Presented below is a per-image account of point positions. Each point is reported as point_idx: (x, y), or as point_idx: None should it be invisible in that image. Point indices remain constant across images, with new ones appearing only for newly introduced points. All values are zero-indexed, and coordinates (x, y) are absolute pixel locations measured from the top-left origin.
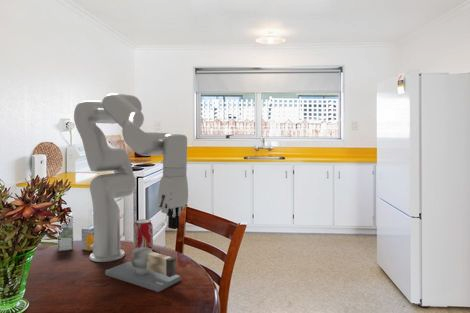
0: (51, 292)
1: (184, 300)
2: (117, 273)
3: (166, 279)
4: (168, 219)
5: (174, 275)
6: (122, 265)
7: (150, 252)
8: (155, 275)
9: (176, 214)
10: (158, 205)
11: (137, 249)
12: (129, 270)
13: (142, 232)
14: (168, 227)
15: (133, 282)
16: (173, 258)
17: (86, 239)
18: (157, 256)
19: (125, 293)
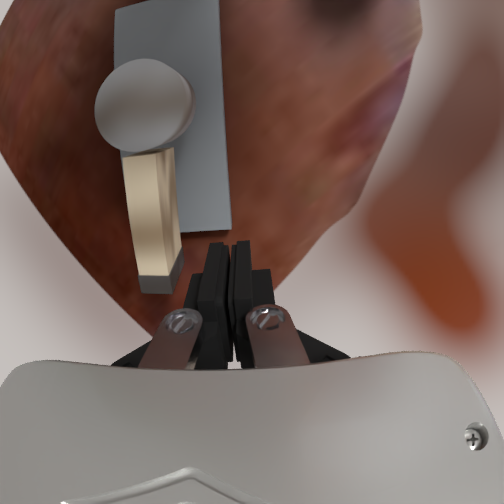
0: (10, 49)
1: (157, 305)
2: (118, 53)
3: (182, 214)
4: (202, 279)
5: (220, 212)
6: (175, 4)
7: (143, 157)
8: (180, 160)
9: (245, 368)
10: (10, 382)
11: (134, 74)
12: (156, 56)
13: None
14: (211, 243)
15: None
16: (161, 290)
17: None
18: (132, 224)
19: (81, 168)
